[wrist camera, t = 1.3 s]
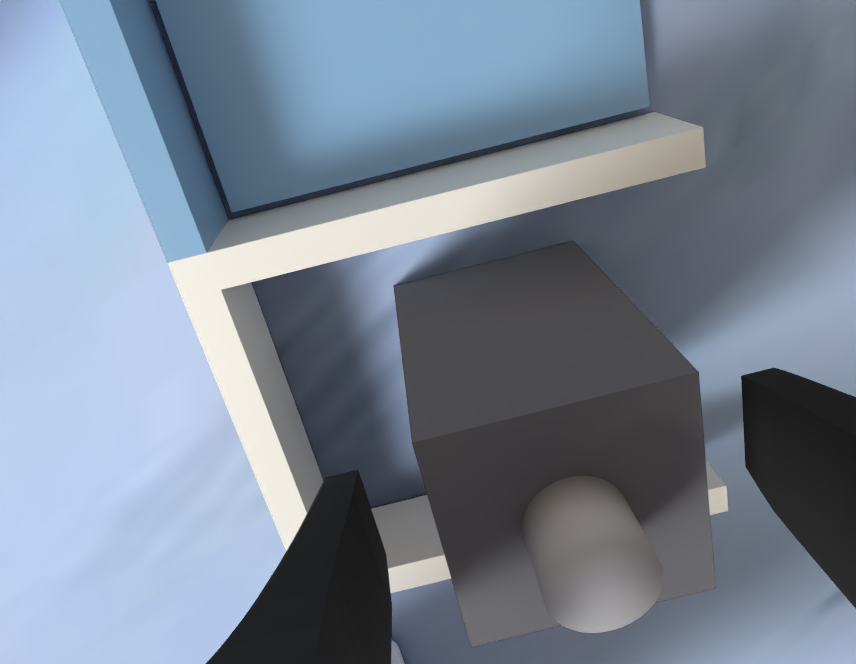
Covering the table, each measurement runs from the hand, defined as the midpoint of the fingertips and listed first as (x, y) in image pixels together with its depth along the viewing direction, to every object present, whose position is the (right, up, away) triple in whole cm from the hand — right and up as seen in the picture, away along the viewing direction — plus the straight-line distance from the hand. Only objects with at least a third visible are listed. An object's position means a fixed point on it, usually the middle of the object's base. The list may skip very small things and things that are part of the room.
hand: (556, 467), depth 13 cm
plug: (0, +2, +5) cm, 6 cm away
